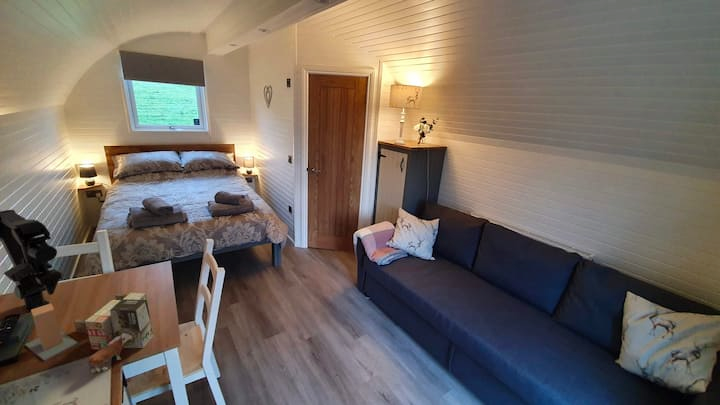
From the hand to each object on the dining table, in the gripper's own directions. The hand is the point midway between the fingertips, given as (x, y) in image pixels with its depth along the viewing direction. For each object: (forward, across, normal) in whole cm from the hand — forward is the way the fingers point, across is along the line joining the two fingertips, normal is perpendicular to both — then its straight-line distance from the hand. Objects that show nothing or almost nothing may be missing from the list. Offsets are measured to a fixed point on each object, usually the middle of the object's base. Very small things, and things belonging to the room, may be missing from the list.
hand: (45, 290), depth 119 cm
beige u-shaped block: (+12, +18, +10) cm, 24 cm away
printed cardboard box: (+12, +30, +9) cm, 34 cm away
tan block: (+12, +18, -7) cm, 22 cm away
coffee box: (+12, +41, +8) cm, 43 cm away
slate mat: (+12, +18, -7) cm, 23 cm away
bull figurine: (+12, +44, -1) cm, 46 cm away
